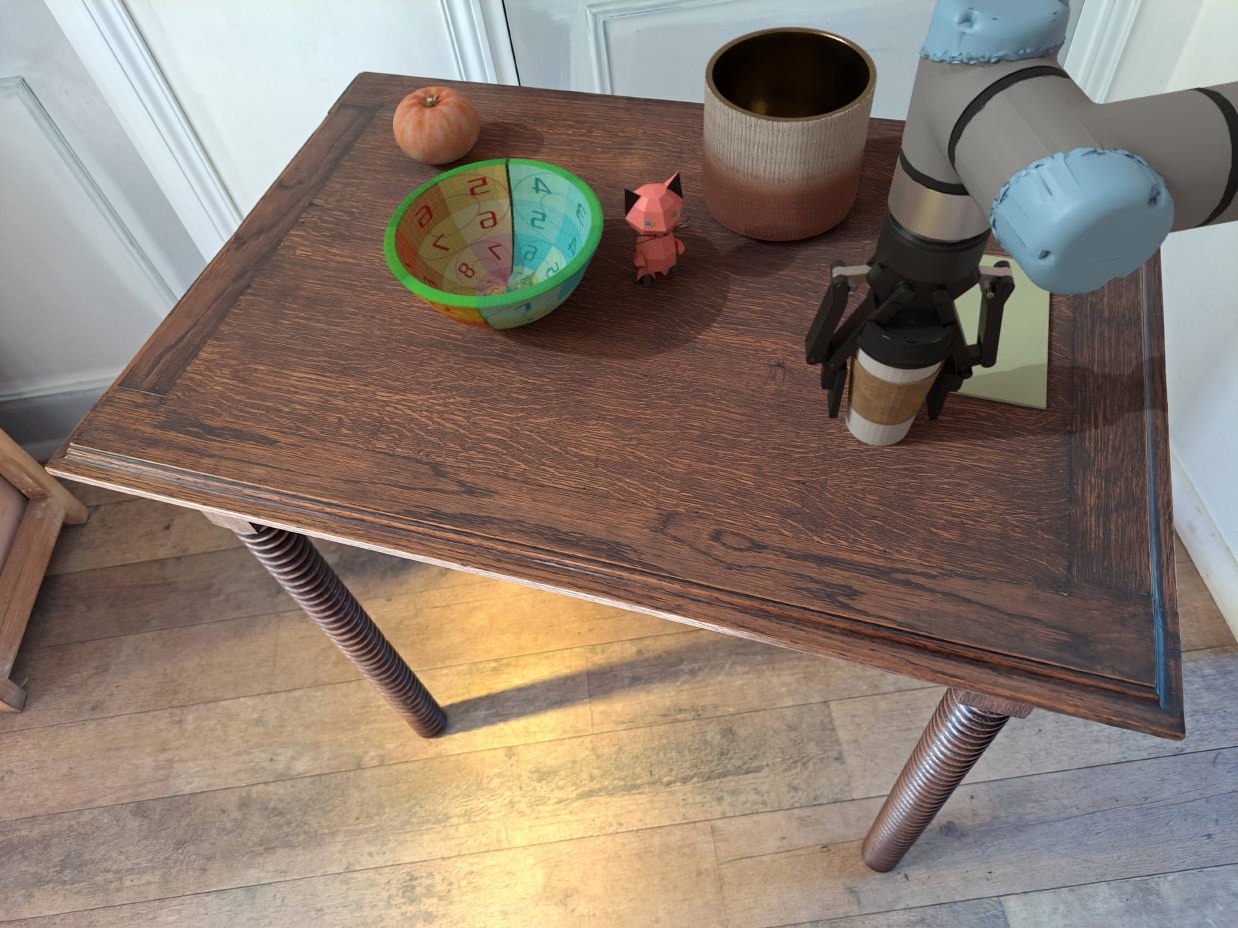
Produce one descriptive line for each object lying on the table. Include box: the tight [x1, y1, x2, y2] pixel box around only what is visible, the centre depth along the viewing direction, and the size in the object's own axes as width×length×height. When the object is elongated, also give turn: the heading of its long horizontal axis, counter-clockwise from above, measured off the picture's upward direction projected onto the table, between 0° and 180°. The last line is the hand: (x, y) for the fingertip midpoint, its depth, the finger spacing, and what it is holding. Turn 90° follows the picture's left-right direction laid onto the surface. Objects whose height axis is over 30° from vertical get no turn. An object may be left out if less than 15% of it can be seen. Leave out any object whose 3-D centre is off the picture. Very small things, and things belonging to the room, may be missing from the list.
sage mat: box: [948, 254, 1051, 411], centre depth 87 cm, size 20×14×1 cm
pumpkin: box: [392, 85, 481, 165], centre depth 107 cm, size 11×11×8 cm
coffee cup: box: [845, 310, 956, 447], centre depth 75 cm, size 8×8×15 cm
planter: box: [701, 26, 878, 242], centre depth 94 cm, size 18×18×16 cm
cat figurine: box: [624, 170, 692, 287], centre depth 90 cm, size 7×7×12 cm
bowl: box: [383, 158, 605, 330], centre depth 90 cm, size 22×22×10 cm
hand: (881, 407), depth 79 cm, fingers open, 8 cm apart
